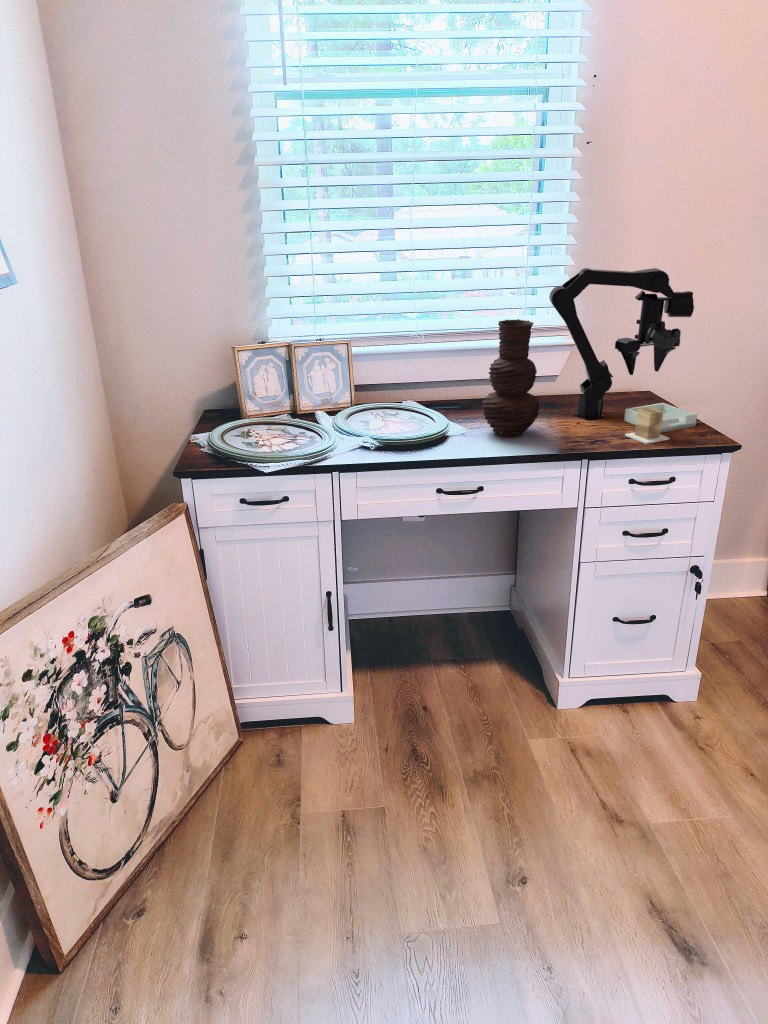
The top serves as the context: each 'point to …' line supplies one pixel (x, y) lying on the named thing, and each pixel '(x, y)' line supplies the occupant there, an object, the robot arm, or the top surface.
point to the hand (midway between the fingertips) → (643, 373)
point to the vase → (512, 382)
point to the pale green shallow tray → (665, 416)
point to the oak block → (649, 423)
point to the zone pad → (632, 435)
